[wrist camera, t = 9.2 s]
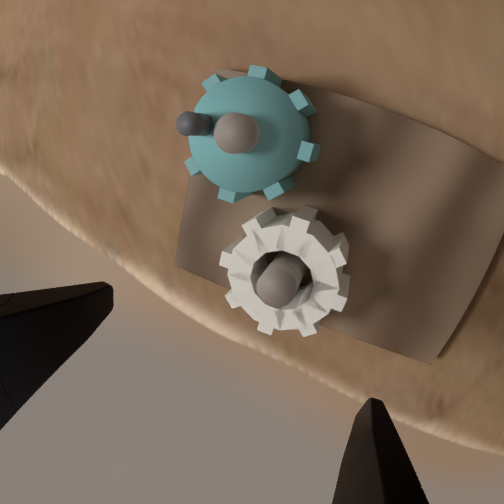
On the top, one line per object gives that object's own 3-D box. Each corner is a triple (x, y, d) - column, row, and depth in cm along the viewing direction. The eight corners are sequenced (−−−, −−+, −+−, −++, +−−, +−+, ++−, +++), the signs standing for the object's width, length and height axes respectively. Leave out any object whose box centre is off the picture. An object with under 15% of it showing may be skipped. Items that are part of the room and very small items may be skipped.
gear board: (515, 175, 13) (556, 186, 9) (429, 356, 19) (437, 404, 14) (220, 71, 17) (179, 53, 13) (181, 260, 23) (141, 287, 19)
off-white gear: (327, 327, 20) (320, 354, 17) (228, 288, 21) (209, 309, 19) (368, 228, 17) (370, 244, 14) (253, 188, 18) (234, 196, 16)
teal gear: (335, 92, 15) (327, 74, 11) (301, 211, 18) (282, 231, 14) (219, 68, 16) (180, 51, 12) (194, 176, 19) (151, 187, 15)
